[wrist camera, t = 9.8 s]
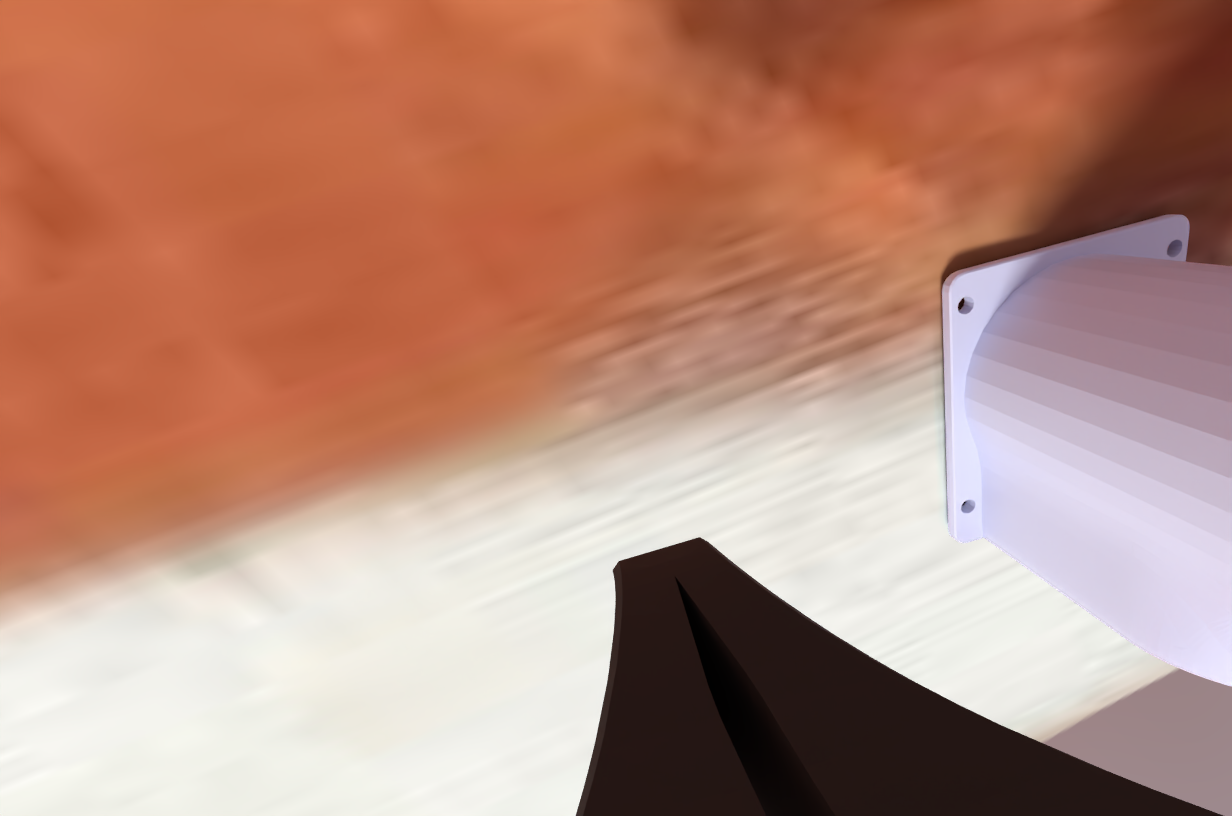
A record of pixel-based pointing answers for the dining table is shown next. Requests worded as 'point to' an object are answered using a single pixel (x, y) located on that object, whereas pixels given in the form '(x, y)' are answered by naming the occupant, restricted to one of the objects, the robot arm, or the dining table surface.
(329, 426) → the dining table surface
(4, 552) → the dining table surface
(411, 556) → the dining table surface
